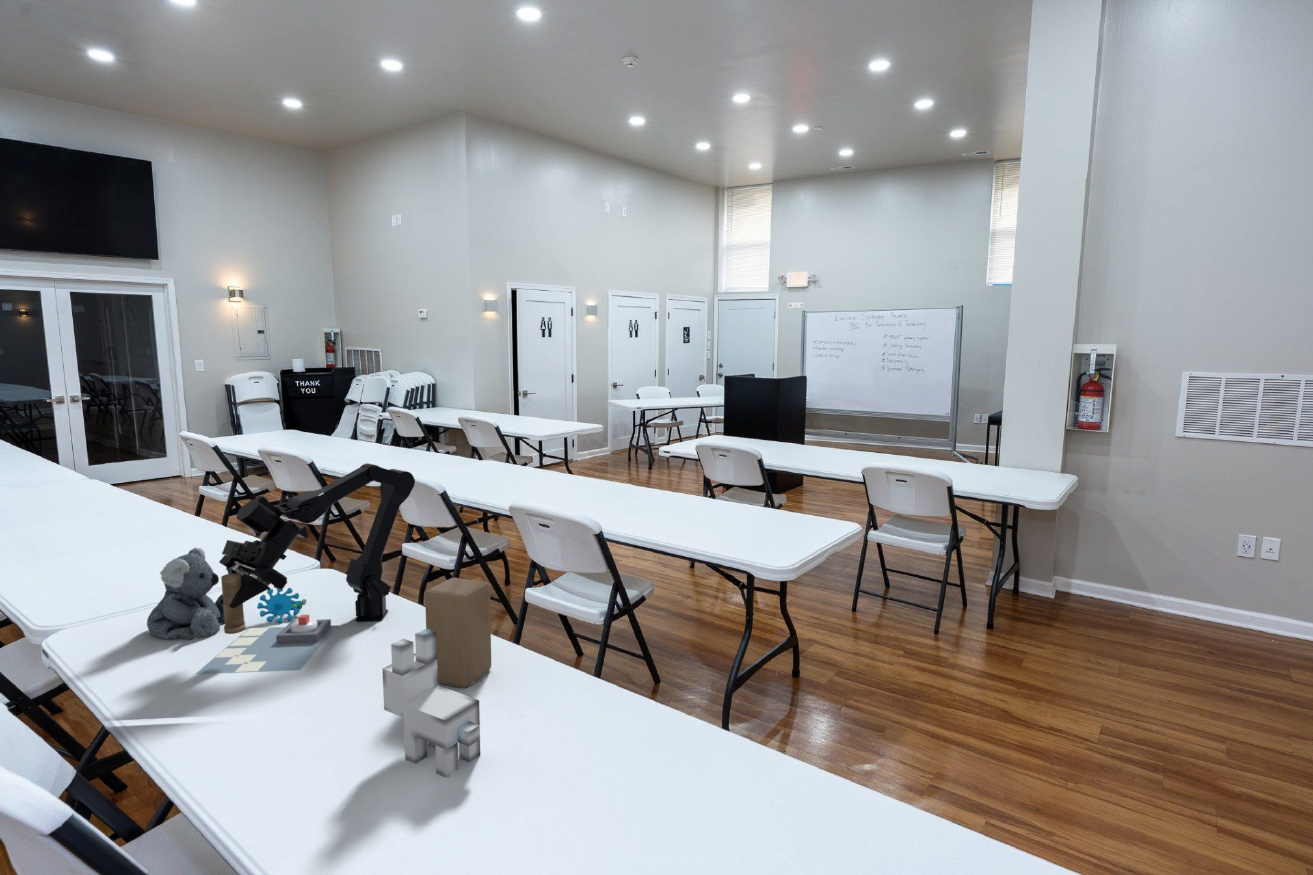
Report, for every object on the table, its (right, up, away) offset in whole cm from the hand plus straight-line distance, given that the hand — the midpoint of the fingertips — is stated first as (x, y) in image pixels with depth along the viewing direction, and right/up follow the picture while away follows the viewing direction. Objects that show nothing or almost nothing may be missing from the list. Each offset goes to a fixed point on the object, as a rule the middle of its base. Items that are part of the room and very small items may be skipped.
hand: (226, 605), depth 147 cm
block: (+51, -15, -2) cm, 54 cm away
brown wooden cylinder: (+1, -6, +2) cm, 6 cm away
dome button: (+9, -11, +15) cm, 21 cm away
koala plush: (-22, -11, +20) cm, 32 cm away
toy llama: (+56, -18, -30) cm, 66 cm away
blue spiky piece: (-3, -10, +28) cm, 30 cm away
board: (+5, -13, +8) cm, 16 cm away
